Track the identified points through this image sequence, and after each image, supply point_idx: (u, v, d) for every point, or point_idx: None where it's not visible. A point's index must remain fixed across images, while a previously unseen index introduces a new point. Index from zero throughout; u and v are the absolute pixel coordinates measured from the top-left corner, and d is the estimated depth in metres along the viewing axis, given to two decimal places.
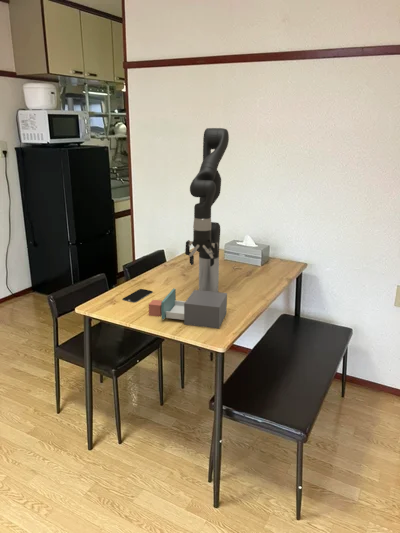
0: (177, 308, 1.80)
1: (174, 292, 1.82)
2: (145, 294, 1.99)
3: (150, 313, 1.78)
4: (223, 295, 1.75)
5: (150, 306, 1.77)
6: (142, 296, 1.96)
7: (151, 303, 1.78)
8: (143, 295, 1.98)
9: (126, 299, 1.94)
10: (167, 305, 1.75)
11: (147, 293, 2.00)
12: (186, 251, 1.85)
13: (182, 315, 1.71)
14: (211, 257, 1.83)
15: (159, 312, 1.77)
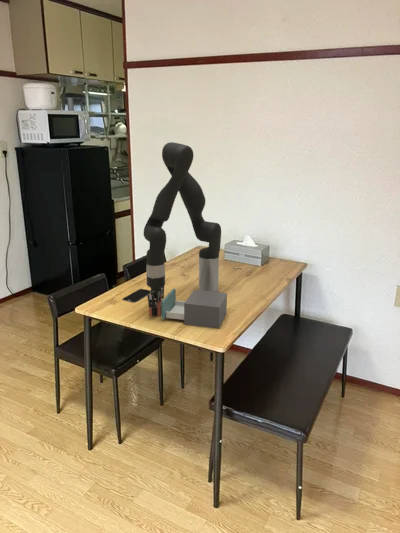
0: (177, 308, 1.80)
1: (174, 292, 1.82)
2: (145, 294, 1.99)
3: (150, 313, 1.78)
4: (223, 295, 1.75)
5: None
6: (142, 296, 1.96)
7: None
8: (143, 295, 1.98)
9: (126, 299, 1.94)
10: (167, 305, 1.75)
11: (147, 293, 2.00)
12: (154, 304, 1.73)
13: (182, 315, 1.71)
14: None
15: (159, 312, 1.77)
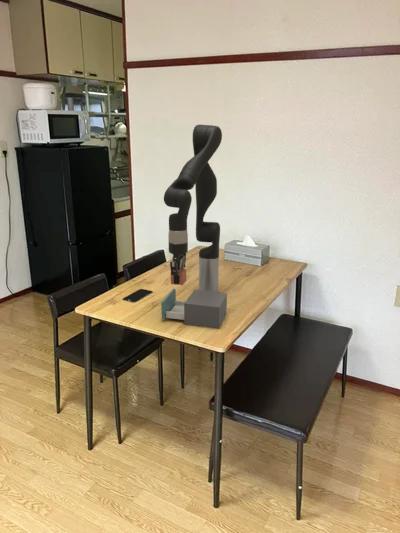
0: (177, 308, 1.80)
1: (174, 292, 1.82)
2: (145, 294, 1.99)
3: (172, 281, 1.72)
4: (223, 295, 1.75)
5: None
6: (142, 296, 1.96)
7: None
8: (143, 295, 1.98)
9: (126, 299, 1.94)
10: (167, 305, 1.75)
11: (147, 293, 2.00)
12: (177, 272, 1.67)
13: (182, 315, 1.71)
14: None
15: (181, 280, 1.70)
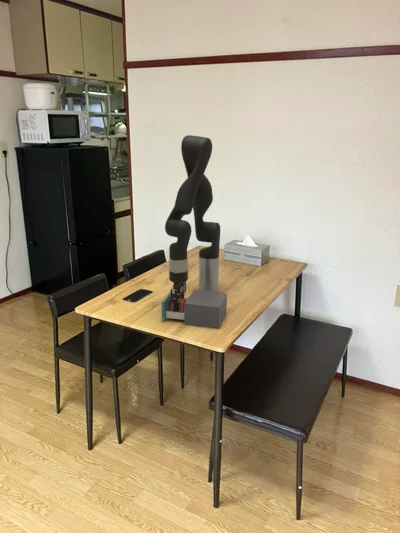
0: None
1: None
2: (145, 294, 1.99)
3: (172, 310, 1.76)
4: (223, 295, 1.75)
5: None
6: (142, 296, 1.96)
7: None
8: (143, 295, 1.98)
9: (126, 299, 1.94)
10: (167, 305, 1.75)
11: (147, 293, 2.00)
12: (177, 299, 1.70)
13: (182, 315, 1.71)
14: (184, 294, 1.79)
15: (182, 309, 1.74)
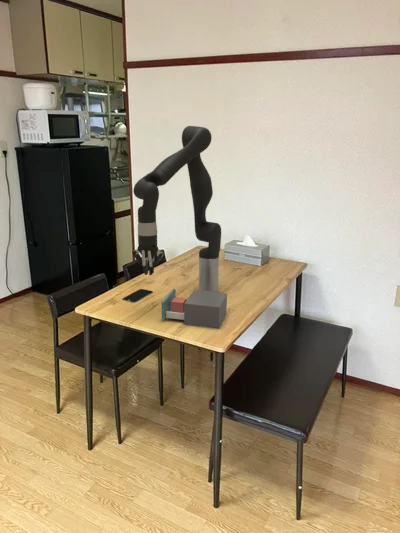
0: None
1: (174, 292, 1.82)
2: (145, 294, 1.99)
3: (172, 310, 1.76)
4: (223, 295, 1.75)
5: (173, 303, 1.75)
6: (142, 296, 1.96)
7: (173, 300, 1.75)
8: (143, 295, 1.98)
9: (126, 299, 1.94)
10: (167, 305, 1.75)
11: (147, 293, 2.00)
12: None
13: (182, 315, 1.71)
14: None
15: (182, 309, 1.74)
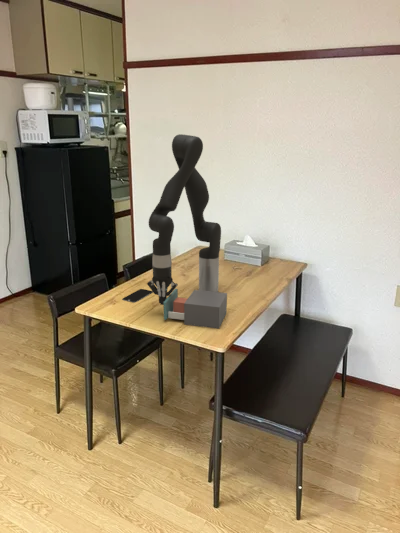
0: None
1: (176, 292, 1.82)
2: (145, 294, 1.99)
3: (175, 311, 1.75)
4: (223, 295, 1.75)
5: (175, 304, 1.74)
6: (142, 296, 1.96)
7: (176, 301, 1.75)
8: (143, 295, 1.98)
9: (126, 299, 1.94)
10: (169, 305, 1.74)
11: (147, 293, 2.00)
12: None
13: None
14: None
15: None
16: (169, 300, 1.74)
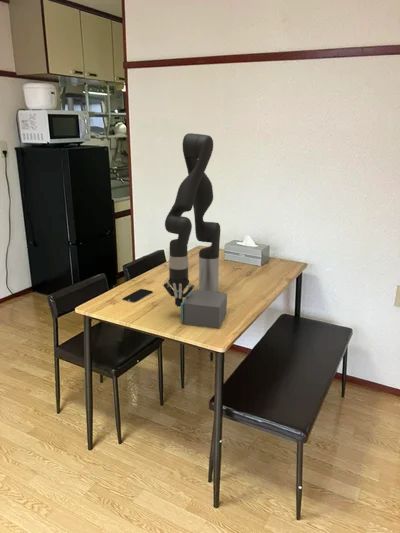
0: None
1: None
2: (145, 294, 1.99)
3: None
4: (223, 295, 1.75)
5: None
6: (142, 296, 1.96)
7: None
8: (143, 295, 1.98)
9: (126, 299, 1.94)
10: None
11: (147, 293, 2.00)
12: None
13: None
14: (178, 294, 1.76)
15: None
16: None
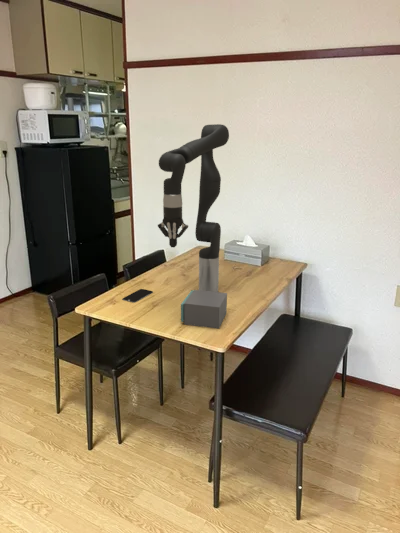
0: None
1: None
2: (145, 294, 1.99)
3: None
4: (223, 295, 1.75)
5: None
6: (142, 296, 1.96)
7: None
8: (143, 295, 1.98)
9: (126, 299, 1.94)
10: None
11: (147, 293, 2.00)
12: None
13: None
14: None
15: None
16: None
